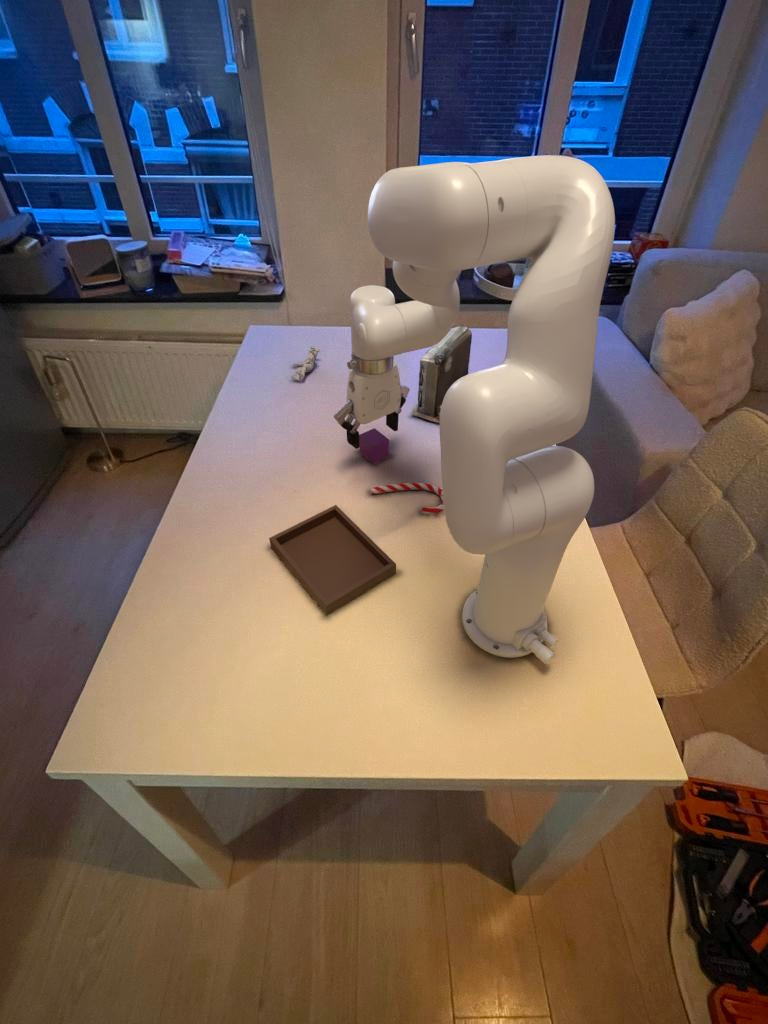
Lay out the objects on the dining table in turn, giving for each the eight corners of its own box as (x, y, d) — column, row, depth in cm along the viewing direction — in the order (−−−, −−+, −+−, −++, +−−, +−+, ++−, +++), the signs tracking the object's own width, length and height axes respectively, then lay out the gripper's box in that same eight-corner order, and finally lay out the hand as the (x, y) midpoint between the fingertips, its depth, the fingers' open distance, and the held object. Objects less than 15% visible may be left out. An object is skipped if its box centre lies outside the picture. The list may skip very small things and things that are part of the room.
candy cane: (372, 476, 102) (450, 484, 101) (373, 481, 103) (449, 489, 102) (366, 504, 97) (447, 512, 95) (366, 509, 98) (447, 517, 96)
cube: (389, 456, 109) (389, 439, 106) (373, 464, 107) (373, 446, 104) (374, 445, 112) (374, 427, 109) (359, 452, 110) (358, 434, 107)
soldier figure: (284, 382, 132) (295, 347, 137) (300, 393, 134) (310, 358, 140) (301, 368, 126) (311, 332, 132) (317, 379, 129) (327, 343, 134)
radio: (452, 372, 134) (458, 314, 124) (483, 381, 130) (492, 323, 120) (404, 414, 120) (406, 354, 110) (436, 426, 117) (442, 365, 106)
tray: (396, 573, 86) (396, 564, 85) (326, 615, 81) (325, 606, 79) (336, 514, 96) (335, 504, 95) (271, 547, 91) (268, 537, 89)
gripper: (345, 383, 89) (348, 462, 101) (422, 353, 96) (417, 430, 108) (320, 365, 93) (327, 443, 105) (397, 338, 100) (395, 413, 113)
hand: (373, 436), depth 107 cm, fingers open, 9 cm apart
